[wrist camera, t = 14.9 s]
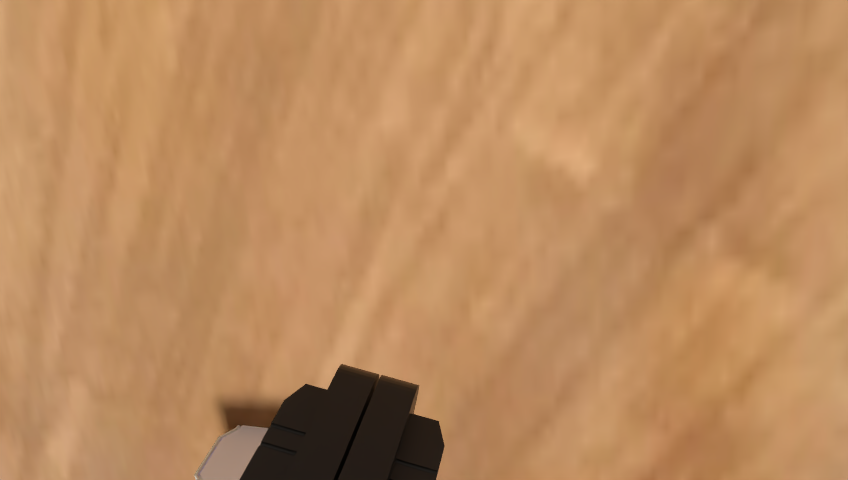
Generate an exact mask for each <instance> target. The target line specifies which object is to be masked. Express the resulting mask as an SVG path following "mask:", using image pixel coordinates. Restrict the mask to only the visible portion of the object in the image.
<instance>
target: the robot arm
mask: <svg viewBox="0 0 848 480" xmlns="http://www.w3.org/2000/svg"><path fill="white" fill-rule="evenodd" d="M418 390H419V385H416V384H412V383H409V382H405V381H401V380H398V379H394V378H391V377H387V376H383V375H381V377H380V379H379V374H376V373H372V372H368V371H365V370H361V369H358V368H354V367H350V366H347V365H343V364H341V365H340V366H339V368H338V370H337V372H336V374H335V376H334V378H333V380H332V382H331V384H330V386H329V388H328V390H326V389H322V388H319V387H315V386H312V385H308V384H305V385H304V386H303V387H301V388H300V389H299V390H297V391H296V392H295V393H293V394H292V395H291V396H289V397H288V398H287V399H285V400H284V402H283V404H282V405H281V407H280V409H279V411H278V412H277V414H276V416H275V418H274V419H273V421H272V424H271V427H269V428H268V430H267V432H266V434H265V435H264V437H263V439H262V441H261V444H260V446H258V448H257V449H256V451H255V453H254V455H253V457H252V458H251V460H250V462H249V464H248V465H247V467H246V469H245V471H244V472H243V474H242V476H241V478H240V480H436V477H437V473H438V469H439V465H440V462H441V458H442V454H443V450H444V442H443V438H442V433H441V429H440V425H439V421H436V420H433V419H429V418H425V417H422V416H418V415H415V414H414V409H415V404H416V400H417V395H418Z"/></svg>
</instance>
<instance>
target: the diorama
mask: <svg viewBox="0 0 848 480" xmlns="http://www.w3.org/2000/svg"><path fill="white" fill-rule="evenodd" d="M267 430H268V428H263V427H254V426H245V425H242V426H240V425H237V426H236V428H234V429H232V430H230V431H228V432H227V433H225V434H223V435H221V436H219V437H218V438H217V440H216V442H215V443H214V445H213V446H212V448H211V449H210V451H209V452H208V454H207V456H206V457H205V459H204V460H203V462H202V463H201V465H200V466H199V468H198V470H197V471H196V473H195V474H194V475H195V478H196V480H240V478H241V476H242V474H243V472H244V471H245V469H246V467H247V465H248V464H249V462H250V460H251V458H252V457H253V455H254V453H255V451H256V449H257V448H258V446H260V444H261V441H262V439H263V437H264V435H265V434H266V432H267Z"/></svg>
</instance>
